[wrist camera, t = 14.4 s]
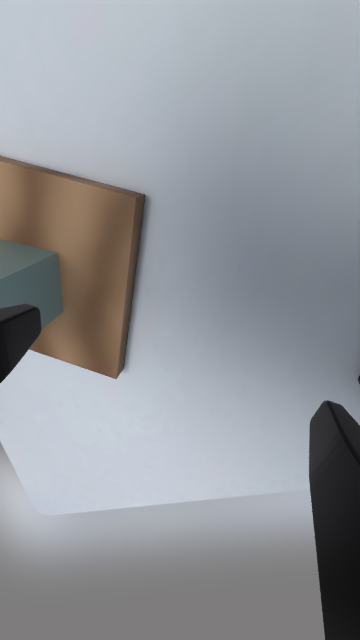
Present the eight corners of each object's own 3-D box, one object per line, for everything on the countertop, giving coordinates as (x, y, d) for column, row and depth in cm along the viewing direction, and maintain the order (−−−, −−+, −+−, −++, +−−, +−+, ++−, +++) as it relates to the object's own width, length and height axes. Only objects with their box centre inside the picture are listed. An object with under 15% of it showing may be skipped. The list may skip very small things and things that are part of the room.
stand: (145, 194, 19) (111, 205, 15) (123, 368, 28) (98, 407, 23) (-60, 140, 21) (-143, 136, 16) (-21, 319, 29) (-69, 347, 25)
